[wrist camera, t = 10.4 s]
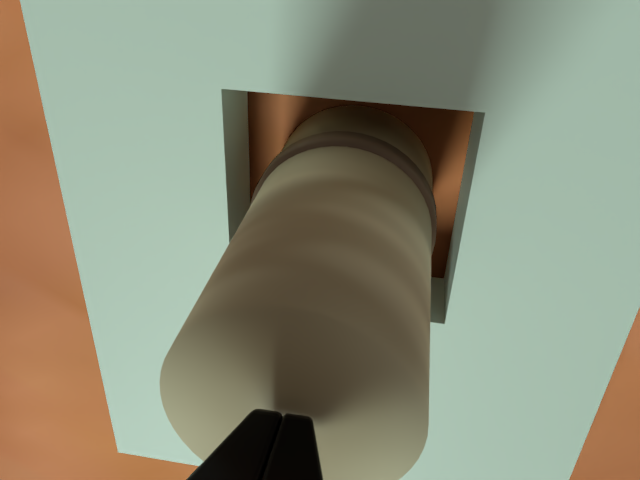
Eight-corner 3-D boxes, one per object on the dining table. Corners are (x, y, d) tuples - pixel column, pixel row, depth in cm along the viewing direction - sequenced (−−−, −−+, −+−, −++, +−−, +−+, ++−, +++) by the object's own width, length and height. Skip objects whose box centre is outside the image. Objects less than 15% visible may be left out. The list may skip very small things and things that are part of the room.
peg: (447, 109, 14) (457, 323, 7) (425, 256, 16) (416, 525, 10) (275, 93, 15) (135, 280, 8) (275, 238, 17) (168, 481, 10)
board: (735, -66, 11) (787, -56, 10) (540, 471, 20) (549, 526, 18) (55, -101, 13) (-2, -97, 11) (143, 407, 22) (118, 452, 20)
